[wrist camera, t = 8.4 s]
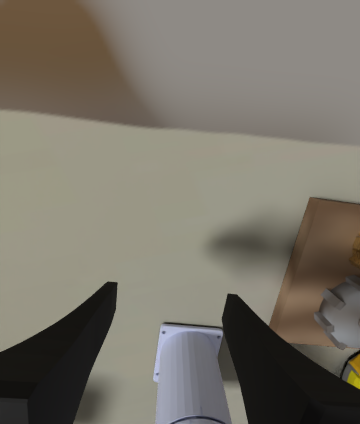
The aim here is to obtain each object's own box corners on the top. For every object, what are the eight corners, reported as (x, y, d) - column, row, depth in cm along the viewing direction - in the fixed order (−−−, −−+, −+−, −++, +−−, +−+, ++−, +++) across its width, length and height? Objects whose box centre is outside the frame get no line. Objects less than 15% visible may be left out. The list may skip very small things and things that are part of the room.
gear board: (365, 339, 26) (400, 371, 22) (267, 331, 25) (284, 363, 21) (427, 213, 21) (484, 225, 18) (309, 197, 21) (342, 205, 17)
